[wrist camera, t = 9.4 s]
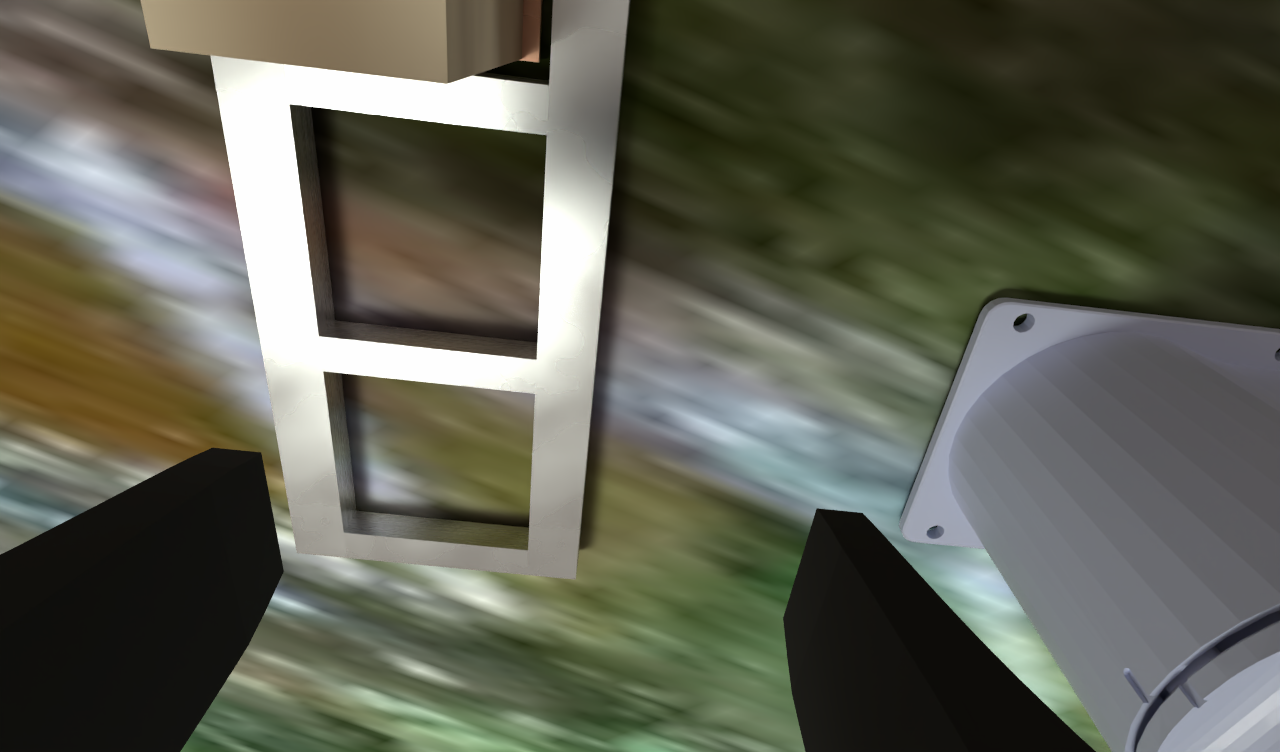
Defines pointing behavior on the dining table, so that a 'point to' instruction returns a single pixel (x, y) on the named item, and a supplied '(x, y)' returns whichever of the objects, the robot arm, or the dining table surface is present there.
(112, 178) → the dining table surface
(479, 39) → the block
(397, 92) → the white rectangular slotted frame
